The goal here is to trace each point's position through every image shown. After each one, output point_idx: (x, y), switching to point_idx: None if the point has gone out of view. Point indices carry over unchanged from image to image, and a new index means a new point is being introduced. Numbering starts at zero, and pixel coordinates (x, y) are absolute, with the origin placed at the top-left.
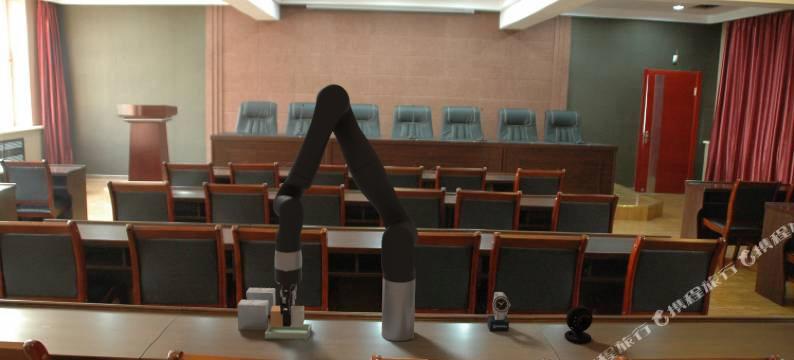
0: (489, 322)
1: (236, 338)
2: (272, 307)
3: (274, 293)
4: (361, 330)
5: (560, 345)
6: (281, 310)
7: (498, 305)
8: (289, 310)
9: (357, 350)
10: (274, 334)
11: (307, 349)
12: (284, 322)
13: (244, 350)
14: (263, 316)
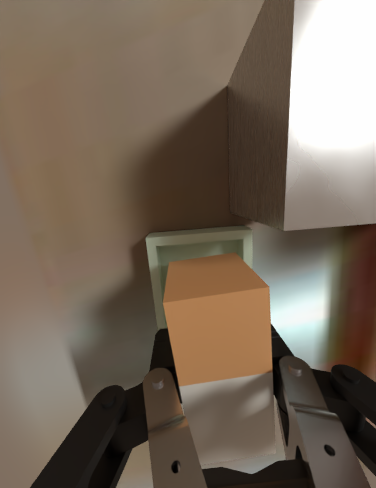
0: None
1: (136, 109)
2: (236, 296)
3: None
4: (248, 466)
5: None
6: (70, 439)
7: None
8: (101, 472)
9: (128, 478)
10: (151, 274)
11: (104, 377)
12: (154, 343)
13: (38, 183)
14: (250, 206)
